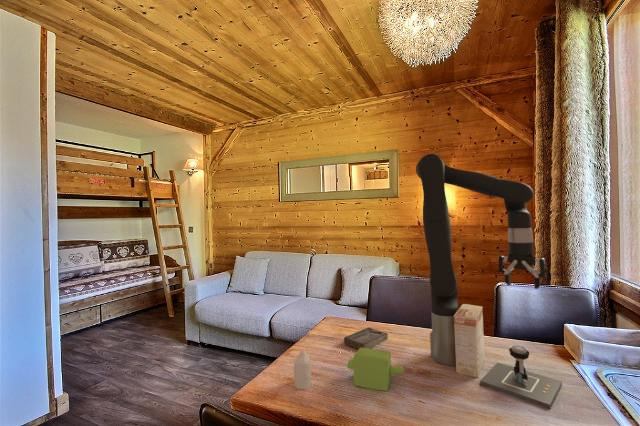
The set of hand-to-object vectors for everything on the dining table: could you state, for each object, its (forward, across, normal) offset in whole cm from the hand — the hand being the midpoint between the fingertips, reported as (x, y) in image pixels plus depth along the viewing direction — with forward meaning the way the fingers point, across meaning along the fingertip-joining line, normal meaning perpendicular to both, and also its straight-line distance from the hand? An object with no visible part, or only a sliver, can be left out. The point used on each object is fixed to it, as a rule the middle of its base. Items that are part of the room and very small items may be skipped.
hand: (522, 286), depth 111 cm
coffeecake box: (+27, -13, -15) cm, 33 cm away
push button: (+26, +3, -17) cm, 31 cm away
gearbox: (+27, -30, -46) cm, 61 cm away
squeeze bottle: (+26, -46, -64) cm, 83 cm away
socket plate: (+27, +3, -17) cm, 32 cm away
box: (+27, -52, -24) cm, 64 cm away
